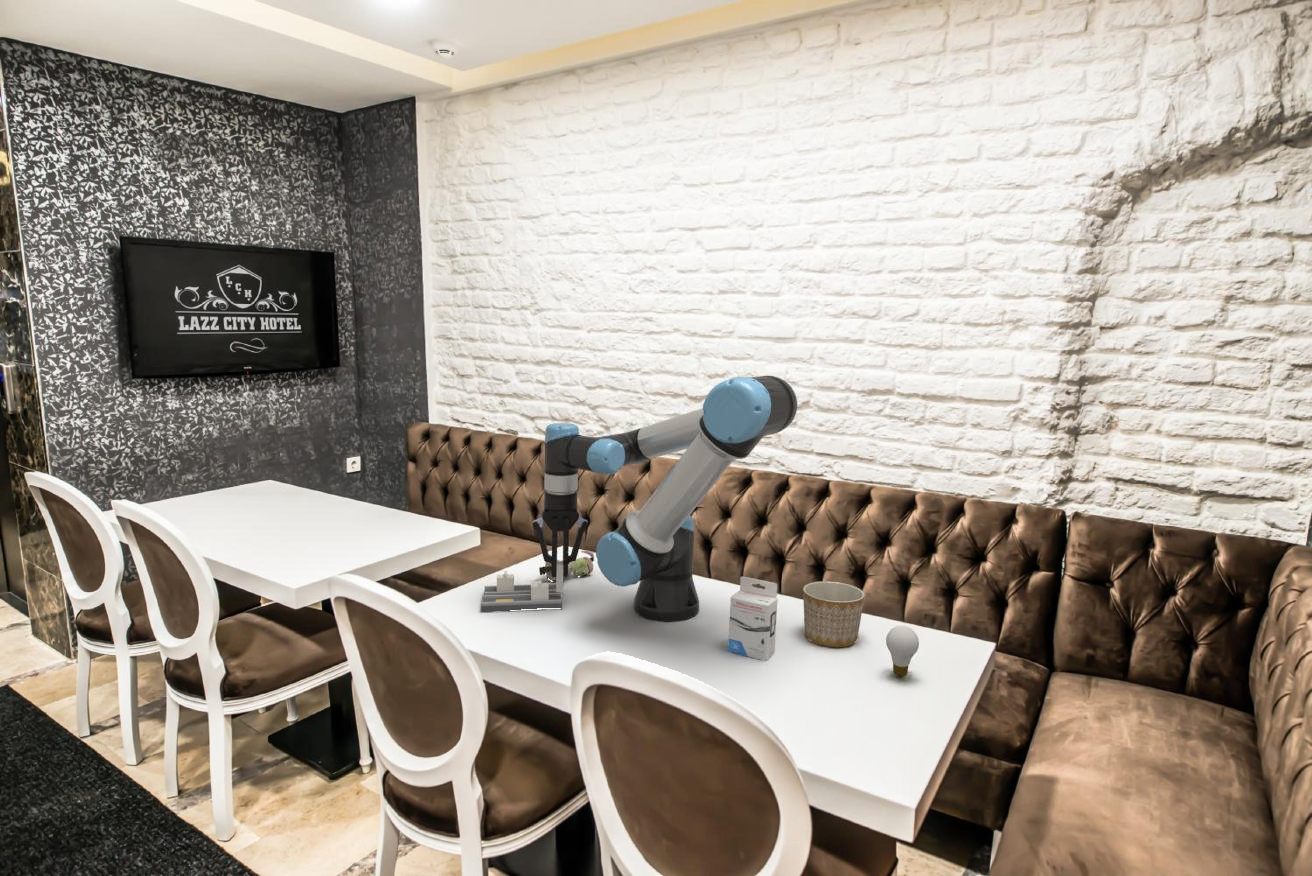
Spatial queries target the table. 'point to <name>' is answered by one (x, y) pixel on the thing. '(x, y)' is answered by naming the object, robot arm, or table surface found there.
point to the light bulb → (902, 648)
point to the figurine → (572, 566)
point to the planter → (832, 613)
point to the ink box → (753, 619)
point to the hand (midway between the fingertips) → (559, 590)
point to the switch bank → (518, 599)
